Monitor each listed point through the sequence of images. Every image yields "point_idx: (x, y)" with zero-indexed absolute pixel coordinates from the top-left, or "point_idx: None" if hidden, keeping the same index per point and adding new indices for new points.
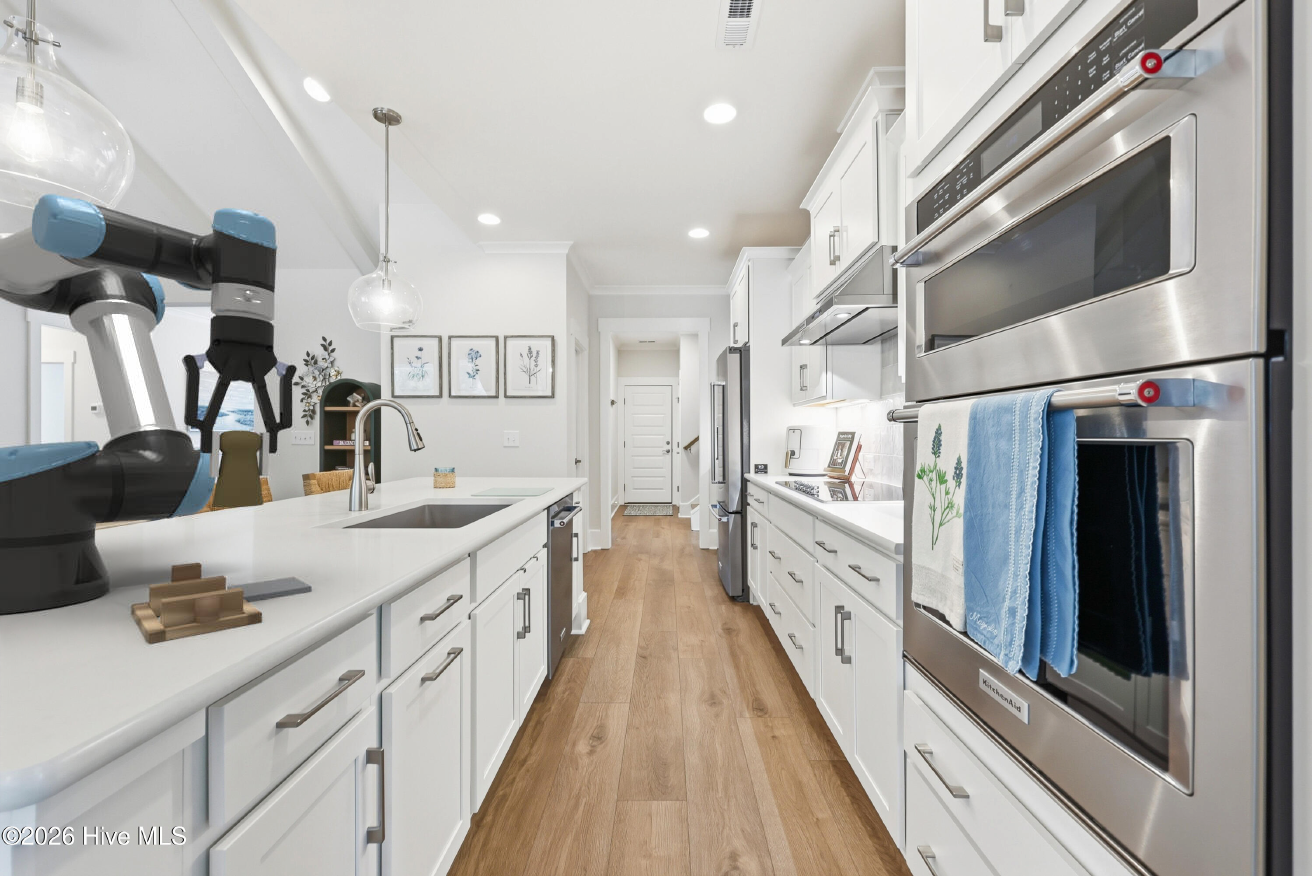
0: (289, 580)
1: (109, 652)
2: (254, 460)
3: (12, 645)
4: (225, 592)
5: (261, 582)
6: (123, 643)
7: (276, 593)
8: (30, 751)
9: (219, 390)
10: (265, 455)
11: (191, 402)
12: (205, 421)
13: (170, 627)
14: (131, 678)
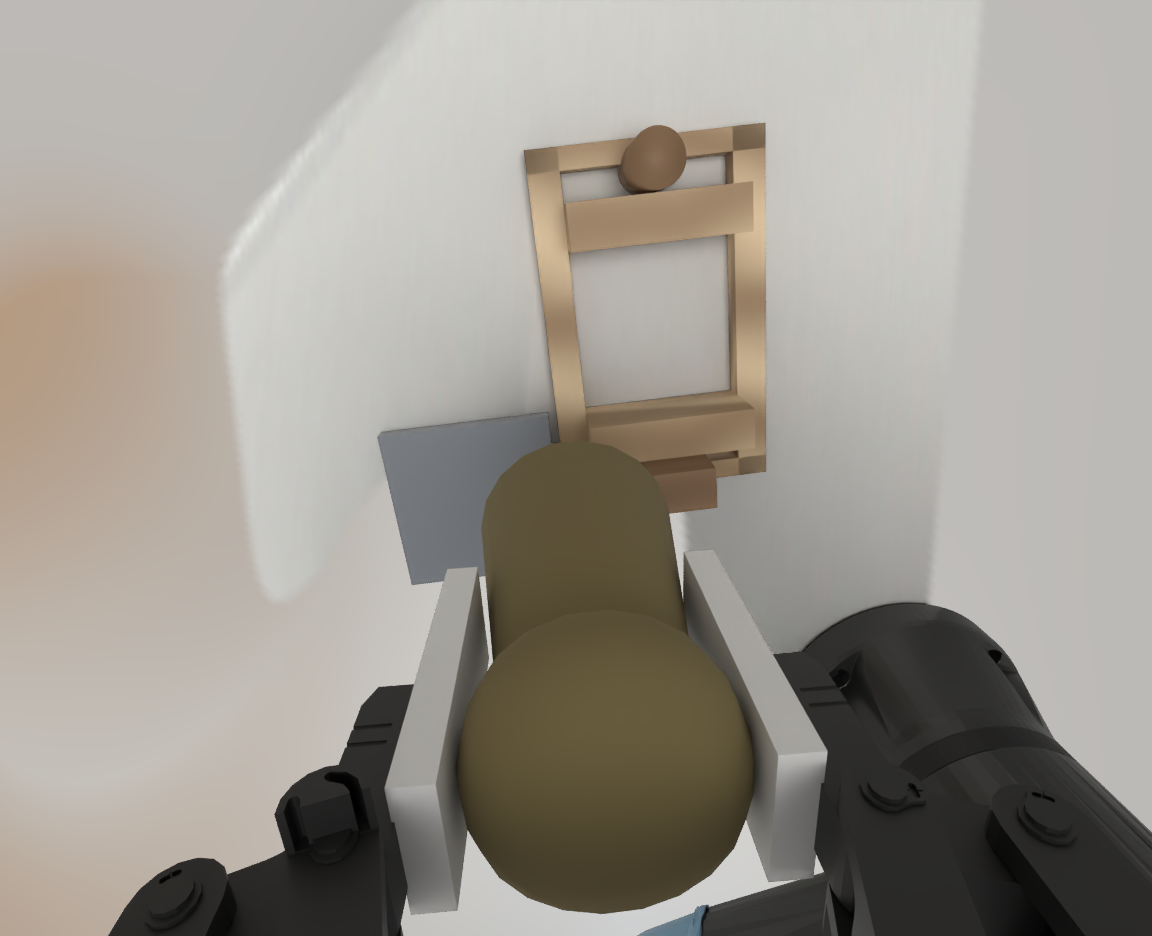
0: (425, 545)
1: (824, 114)
2: (515, 609)
3: (951, 328)
4: (610, 206)
5: None
6: (795, 180)
7: (467, 423)
8: None
9: None
10: (446, 642)
11: None
12: (935, 837)
13: (722, 151)
14: None
